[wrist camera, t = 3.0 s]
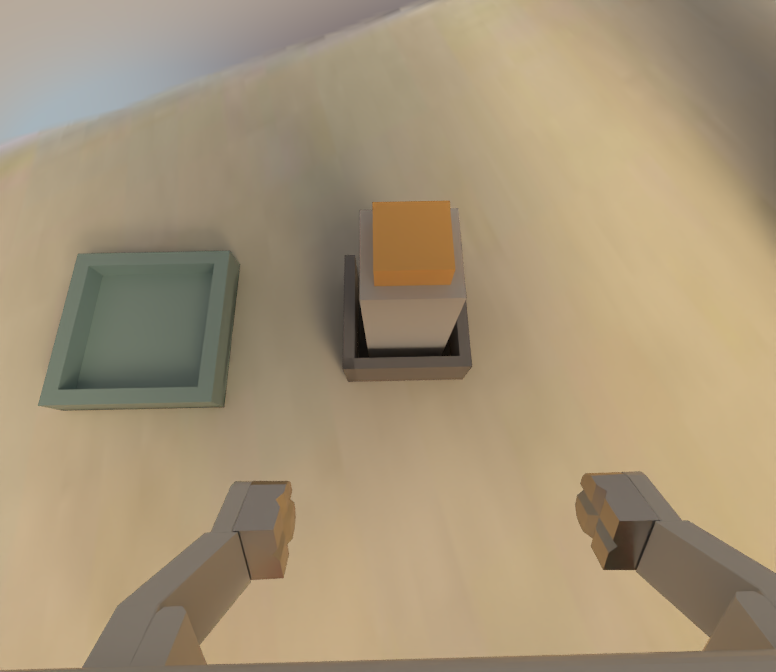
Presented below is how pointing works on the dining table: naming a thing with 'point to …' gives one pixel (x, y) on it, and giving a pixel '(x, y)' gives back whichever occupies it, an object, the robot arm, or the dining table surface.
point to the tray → (144, 332)
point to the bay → (398, 366)
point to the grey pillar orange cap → (410, 277)
